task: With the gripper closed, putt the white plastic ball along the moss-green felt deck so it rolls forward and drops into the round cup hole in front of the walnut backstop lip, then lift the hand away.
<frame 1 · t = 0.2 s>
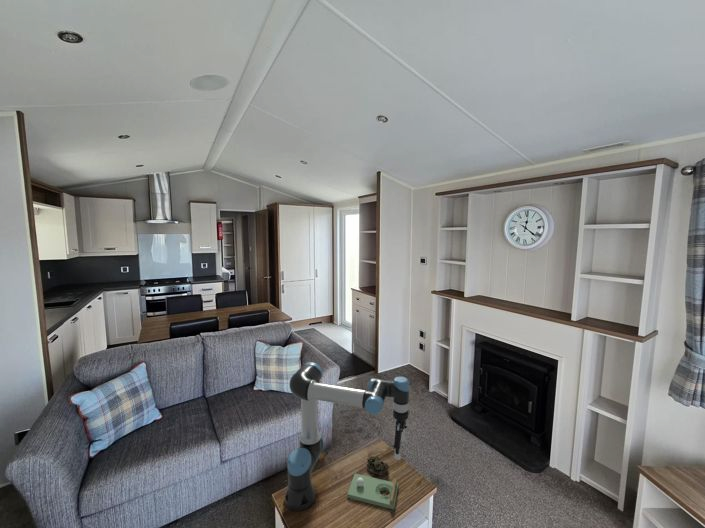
hand: (399, 449, 155), 28 cm above the table, fingers open, 13 cm apart
rock: (377, 469, 179), on the table
ball: (360, 482, 165), point 4 cm above the table, touching green
green: (373, 492, 163), on the table
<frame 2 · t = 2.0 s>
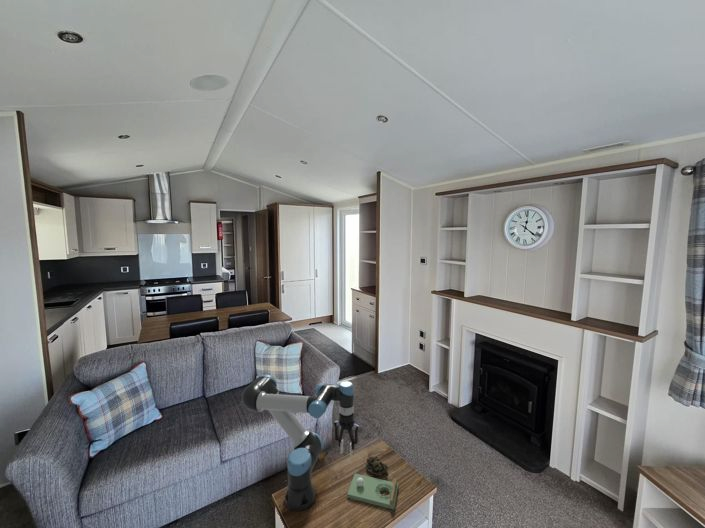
hand: (346, 453, 165), 19 cm above the table, fingers open, 4 cm apart
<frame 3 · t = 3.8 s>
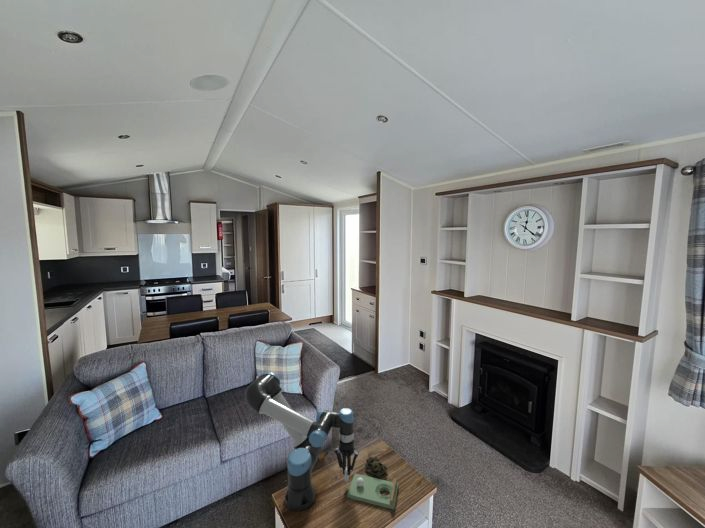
hand: (346, 479, 167), 3 cm above the table, fingers closed
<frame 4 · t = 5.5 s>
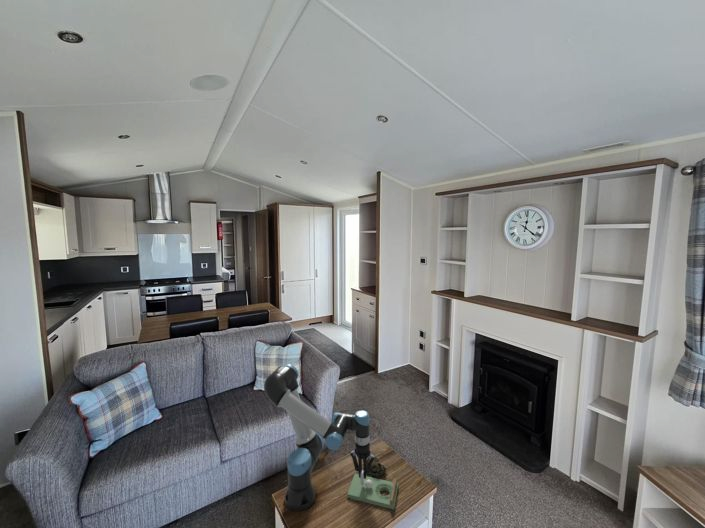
hand: (362, 483, 164), 4 cm above the table, fingers closed
ball: (368, 484, 163), point 4 cm above the table, tilted 129°, touching green
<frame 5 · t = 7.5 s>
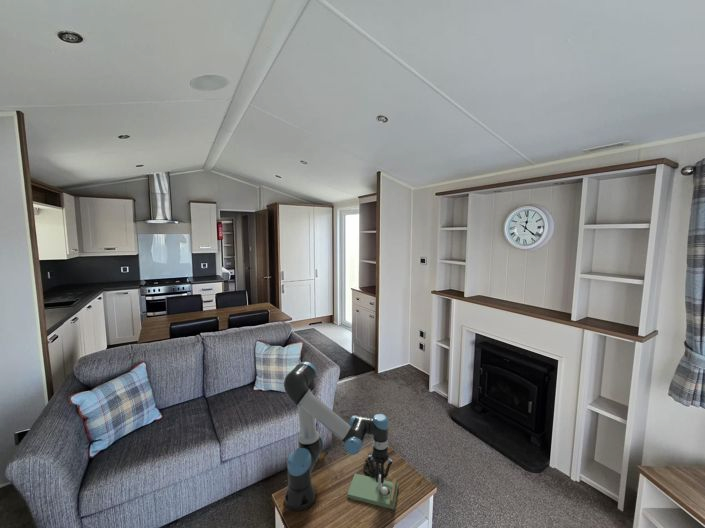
hand: (379, 487, 162), 3 cm above the table, fingers closed
ball: (384, 491, 161), point 2 cm above the table, tilted 31°, touching gripper
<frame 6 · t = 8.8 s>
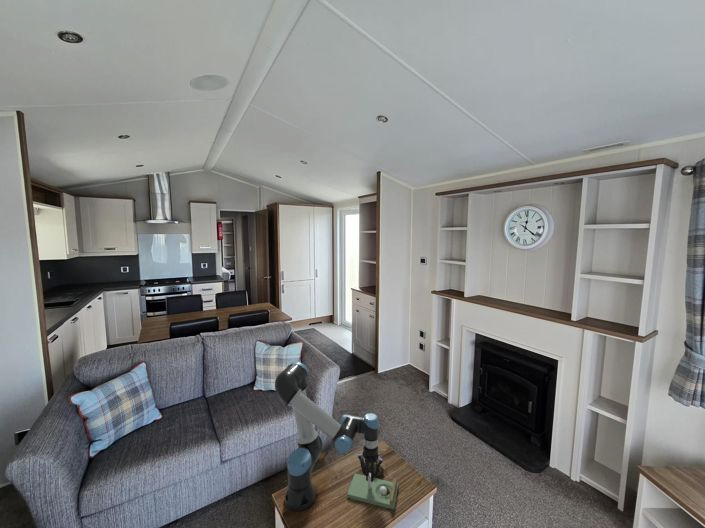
hand: (369, 486, 163), 3 cm above the table, fingers closed
ball: (383, 490, 161), point 2 cm above the table, tilted 14°
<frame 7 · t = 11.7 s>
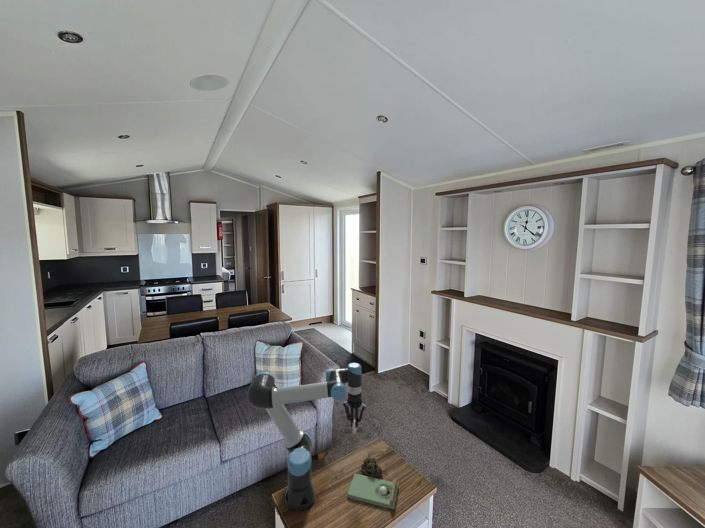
hand: (354, 432, 173), 24 cm above the table, fingers closed
at the end: ball 0.7 cm from the target spot in the green, point 2.0 cm above the green's base; the gripper is holding nothing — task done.
